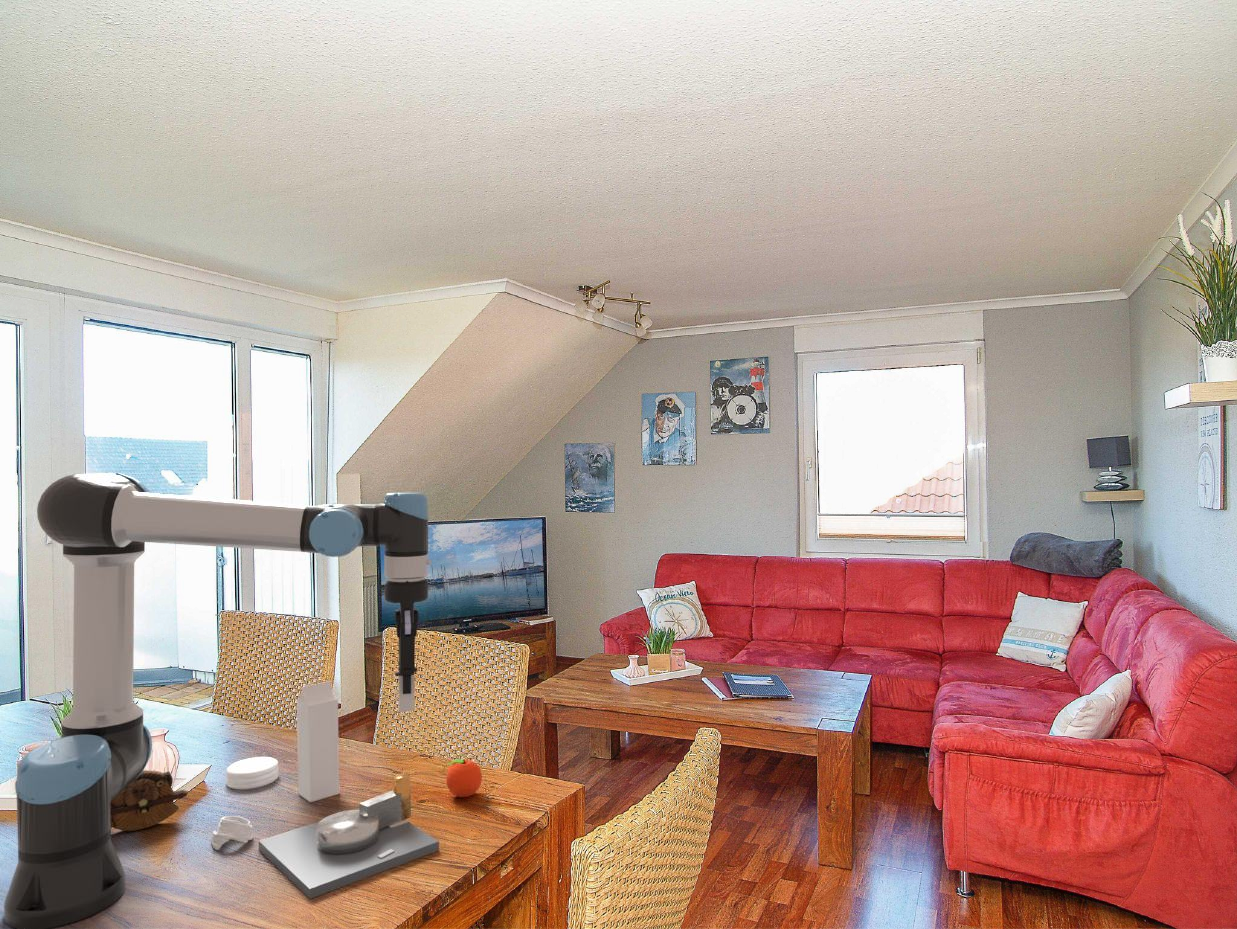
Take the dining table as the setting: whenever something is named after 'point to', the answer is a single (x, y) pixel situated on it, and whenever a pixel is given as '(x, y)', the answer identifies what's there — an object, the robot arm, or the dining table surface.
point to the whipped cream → (232, 831)
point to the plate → (343, 856)
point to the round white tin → (252, 773)
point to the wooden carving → (145, 802)
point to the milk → (317, 742)
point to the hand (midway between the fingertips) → (406, 710)
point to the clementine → (463, 778)
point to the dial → (365, 820)
